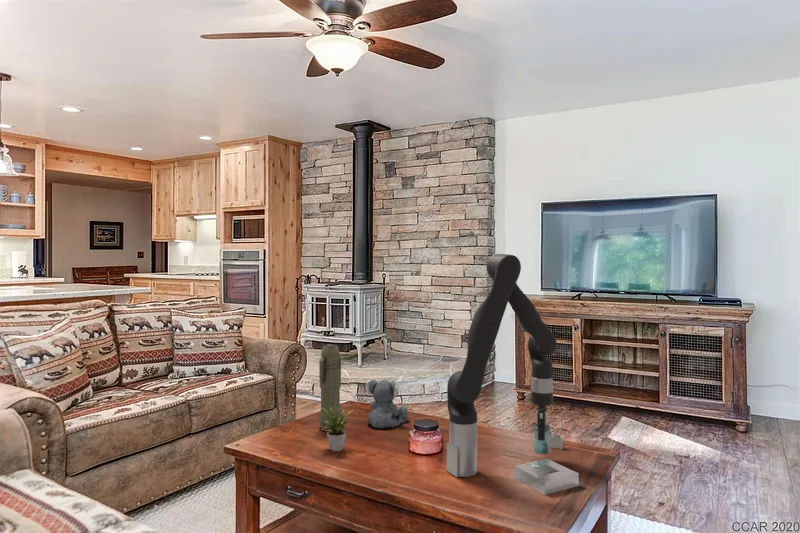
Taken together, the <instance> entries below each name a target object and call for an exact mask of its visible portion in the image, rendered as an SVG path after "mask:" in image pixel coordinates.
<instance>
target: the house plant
mask: <svg viewBox="0 0 800 533" xmlns="http://www.w3.org/2000/svg"><path fill="white" fill-rule="evenodd" d="M322 409H323V408H322ZM330 409H331V412H332V419H331V418H330V416H329V414H328V412H327V411H326V410H325V409H324V410H325V411H326V413H327V415H326V414H325V415H326V416H327V417H328V418H329V419H330V421H331V423H332V424H333V425H332V424H331V423H330V422H329V421H325V422H324V423H327V424H328V425H329V426H330V428H331V429H332V430H330V429H329V428H328V427H329V426H325V427H324V429H326V428H328V429H329V430H330V431H326V432H327V433H326V434H327V441H328V448H330V449H331V450H335V451H337V450H342V449H343V448H345V444H346V443H345V442H346V437H347V436H346V435H347V431H345V428H346V427H347V426H349V425H350V423H349V421H345V419H346V418H347V417H348V416H349V415H350V414H351V412H353V411H354V409H352V410H349V412H348V413H347V414H344V412H345V409H343V410H342V411H341V417H340V418H339V419H338V421H337V416H338V413H337V415H336V416H335V413H334V412H333V410H332V408H331V407H330ZM337 411H338V410H337ZM323 414H324V413H323ZM322 416H323V415H322ZM324 417H325V416H324ZM325 418H326V417H325ZM326 419H327V418H326ZM327 420H328V419H327ZM320 425H322V424H320V423H319V426H320ZM344 425H345V426H344ZM324 429H323V430H324ZM330 449H329V450H330ZM343 450H344V449H343ZM343 450H342V451H343Z"/></svg>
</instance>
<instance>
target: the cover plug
mask: <svg viewBox="0 0 800 533" xmlns="http://www.w3.org/2000/svg"><path fill="white" fill-rule="evenodd" d="M539 426H543V424H540V423H539ZM537 427H538V423H534V424H533V425H532V429H533V434H534V435H533V436H534V438H533V440H534V443H533V447H534V450H533V451H534V453H536V454H539V455H548V454H550V448H551V436H550V432H551V429H552V427H551V425H549V424H547V423H546V424H545V440H544V441H541V440H538V428H537Z"/></svg>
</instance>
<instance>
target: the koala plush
mask: <svg viewBox="0 0 800 533" xmlns="http://www.w3.org/2000/svg"><path fill="white" fill-rule="evenodd" d="M399 387H400V385H399V381H398V380H397V379H395V380H391V381H389V380H387V379H381V380H379V381H376V380H375V379H368V380H367V381H366V386H365V388H366V391H367V393H368V394H369V395H372V397H373V399H374V401H373V402H371V404H370V413H369V414H368V416H367V420H366V421H367V422H368V424H370V425H371V426H372V427H373V428H374V427H375V428H374V429H384V428H388V429H391V428H390V427H392V428H396V427H398V426H399V425H401V423H402V424H404V423H406V422H407V420H408V419H409V412H408V410H409V409H408V406H406V405H401V406H400V407H398V406H397V405H396V404H395V402H394V399H395V398H396V396H397V395H398V394H399Z"/></svg>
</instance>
